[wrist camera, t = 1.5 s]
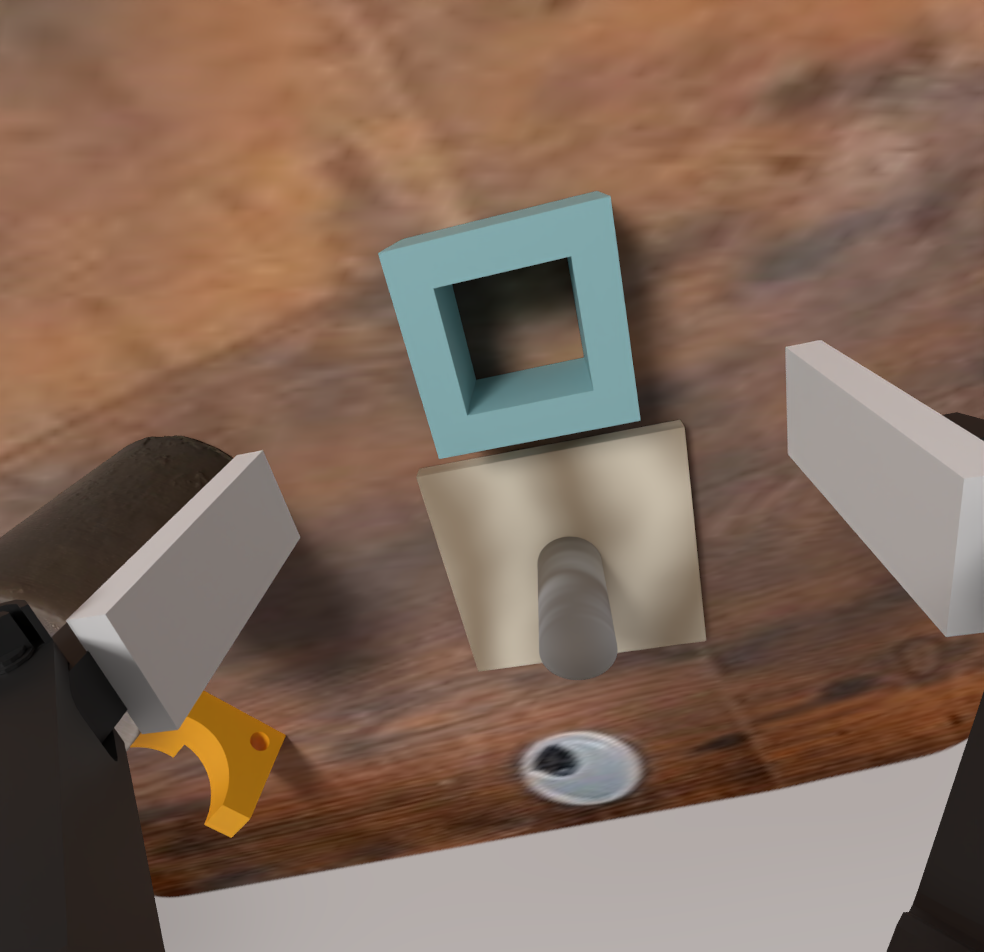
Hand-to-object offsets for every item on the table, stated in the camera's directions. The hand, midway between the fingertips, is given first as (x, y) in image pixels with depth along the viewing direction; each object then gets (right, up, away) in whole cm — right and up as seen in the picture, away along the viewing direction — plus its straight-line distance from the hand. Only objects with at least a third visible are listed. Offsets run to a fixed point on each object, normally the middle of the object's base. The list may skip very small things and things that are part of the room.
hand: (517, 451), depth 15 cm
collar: (+1, +7, +14) cm, 16 cm away
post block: (+4, -5, +20) cm, 21 cm away
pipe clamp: (-21, -17, +28) cm, 39 cm away
